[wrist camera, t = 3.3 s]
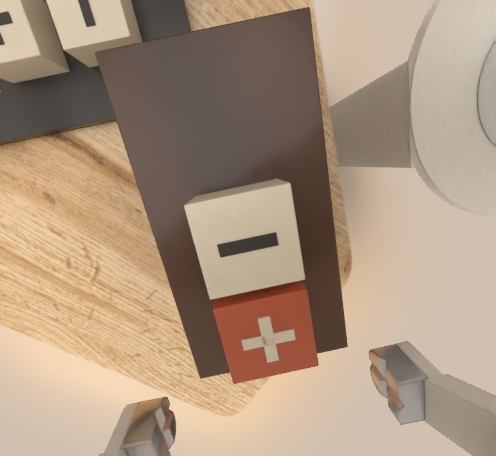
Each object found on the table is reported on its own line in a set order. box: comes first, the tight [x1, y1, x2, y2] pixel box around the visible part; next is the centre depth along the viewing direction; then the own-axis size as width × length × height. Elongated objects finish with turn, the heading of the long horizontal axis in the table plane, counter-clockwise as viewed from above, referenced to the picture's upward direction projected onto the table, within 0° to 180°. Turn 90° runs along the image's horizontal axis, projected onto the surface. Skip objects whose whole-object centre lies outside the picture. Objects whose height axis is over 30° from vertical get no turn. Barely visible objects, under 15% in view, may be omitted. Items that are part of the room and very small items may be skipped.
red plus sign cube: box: [213, 280, 318, 384], centre depth 13 cm, size 4×4×3 cm
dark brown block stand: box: [95, 7, 348, 378], centre depth 18 cm, size 10×19×10 cm, turn 11°
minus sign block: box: [46, 0, 142, 67], centre depth 17 cm, size 4×4×3 cm
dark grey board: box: [0, 0, 191, 145], centre depth 18 cm, size 24×12×1 cm, turn 102°
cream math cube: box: [0, 0, 70, 83], centre depth 17 cm, size 4×4×3 cm
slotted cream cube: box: [184, 179, 305, 300], centre depth 12 cm, size 4×4×3 cm
